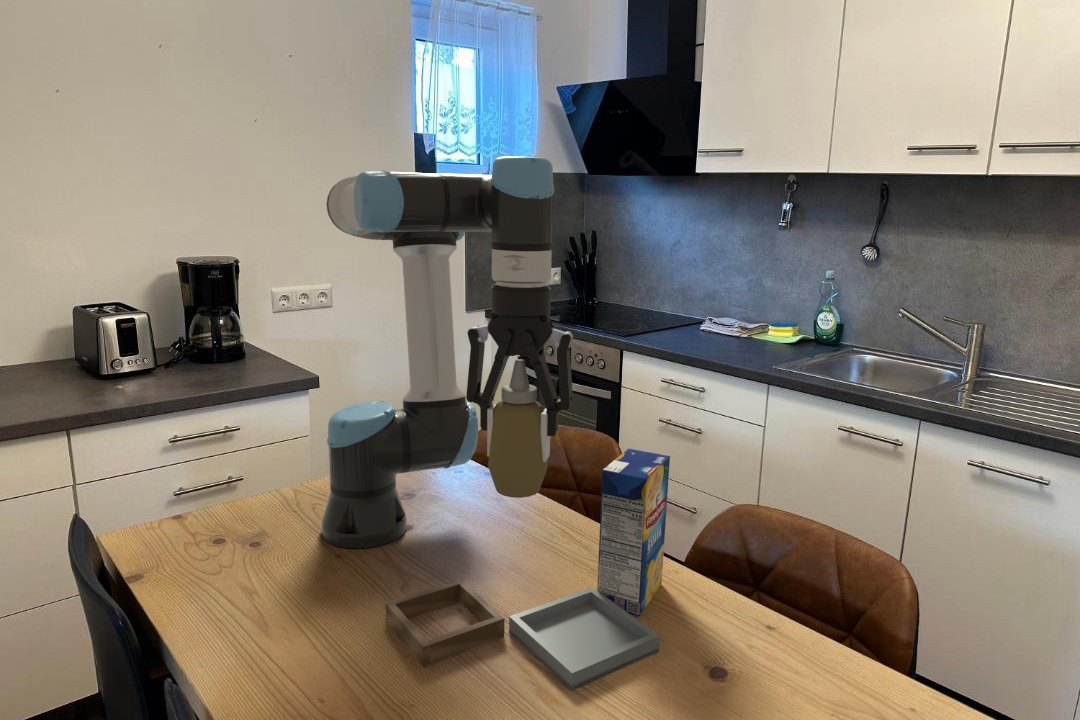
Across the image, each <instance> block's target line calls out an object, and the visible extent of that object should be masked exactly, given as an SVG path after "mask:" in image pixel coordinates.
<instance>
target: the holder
mask: <svg viewBox="0 0 1080 720" xmlns="http://www.w3.org/2000/svg"><path fill="white" fill-rule="evenodd" d="M456 603H460V604H461V605H462V606H463V607H464V608H465V609H466V610H467V611H468V612H469V613H470V614H471V615H472V616H473V617H474V618H475V619H477V620H478V622H476V623H474V624H470V625H468V626H465V627H462V628H460V629H457V630H453V631H451V632H448V633H445V634H443V635H440V636H436V637H434V638H431V639H429V640H427V639H426V638H425V637H424V636H423V635H422V633H421V632H420V631H419V630H418V629H417V627H416V626H414V624H413V623H412V622H411V620H409V619H411V618H414V617H418V616H420V615H424V614H426V613H430V612H433V611H436V610H438V609H441V608H444V607H445V608H446V607H448V606H451V605H454V604H456ZM385 620H386V623H387V624H388V626H390V628H391V629H392V630H393V632H394V633H395V634H396V635H397V636H398V638H399V639H400V640H401V642H402V643H403V644H404V645H405V646H406V648H407V649H408V650H409V652H410V653H411V654H412V655H413V656H414V658H415V659H416V660H417V661H418V662H419V665H421V666H422V667H423V668H425V667H429V666H431V665H433V664H436V663H439V662H442V661H444V660H447V659H450V658H452V657H453V658H454V657H455V656H458V655H461V654H463V653H466V652H468V651H472V650H473V649H477V648H480V647H482V646H485V645H488V644H490V643H493V642H496V641H498V640H501V639H503V638H505V621H506V619H505V617H504V616H503V615H502V614H501V613H499V612H498V611H497V610H496V608H494V607H493V606H492V605H491V604H490V603H488V601H486V600H485V599H484V598H483V597H482V596H481V595H480V594H478V593H477V592H476V591H475V589H473V588H472V587H471V586H470V584H468V583H467V582H465V580H464V579H459V580H456V581H453V582H450V583H446V584H444V585H443V584H442V585H439V586H437V587H434V588H433V587H432V588H430V589H426V590H424V591H420V592H417V593H414V594H410V595H407V596H404V597H400V598H397V599H393V600H391V601H388V602H385ZM487 643H488V644H487ZM479 646H480V647H479Z"/></svg>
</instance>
